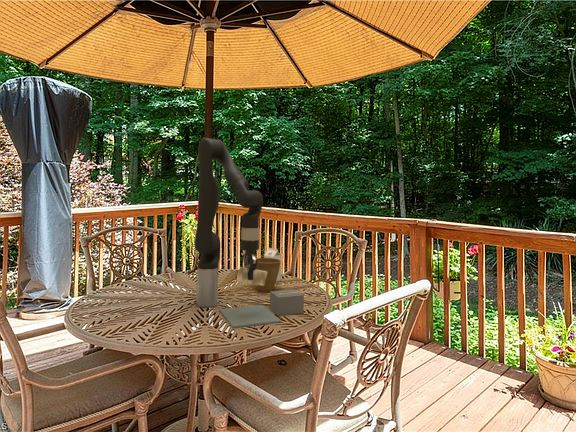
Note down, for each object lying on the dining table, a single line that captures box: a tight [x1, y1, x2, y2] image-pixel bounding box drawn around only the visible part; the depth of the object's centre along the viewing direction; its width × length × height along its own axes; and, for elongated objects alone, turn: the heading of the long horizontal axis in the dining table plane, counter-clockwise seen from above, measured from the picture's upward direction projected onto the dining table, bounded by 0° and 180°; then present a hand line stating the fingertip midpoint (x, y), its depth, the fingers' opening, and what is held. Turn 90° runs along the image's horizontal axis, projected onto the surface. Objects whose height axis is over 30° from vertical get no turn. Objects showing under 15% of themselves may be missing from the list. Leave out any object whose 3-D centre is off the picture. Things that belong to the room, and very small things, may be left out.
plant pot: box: [256, 257, 282, 293], centre depth 213 cm, size 15×15×16 cm
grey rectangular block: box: [269, 288, 305, 317], centre depth 180 cm, size 12×10×9 cm
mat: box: [219, 304, 282, 329], centre depth 172 cm, size 20×22×1 cm
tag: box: [236, 266, 267, 286], centre depth 171 cm, size 6×2×12 cm
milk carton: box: [263, 247, 282, 283], centre depth 233 cm, size 7×7×19 cm
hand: (249, 279), depth 170 cm, fingers closed on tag, 1 cm apart
